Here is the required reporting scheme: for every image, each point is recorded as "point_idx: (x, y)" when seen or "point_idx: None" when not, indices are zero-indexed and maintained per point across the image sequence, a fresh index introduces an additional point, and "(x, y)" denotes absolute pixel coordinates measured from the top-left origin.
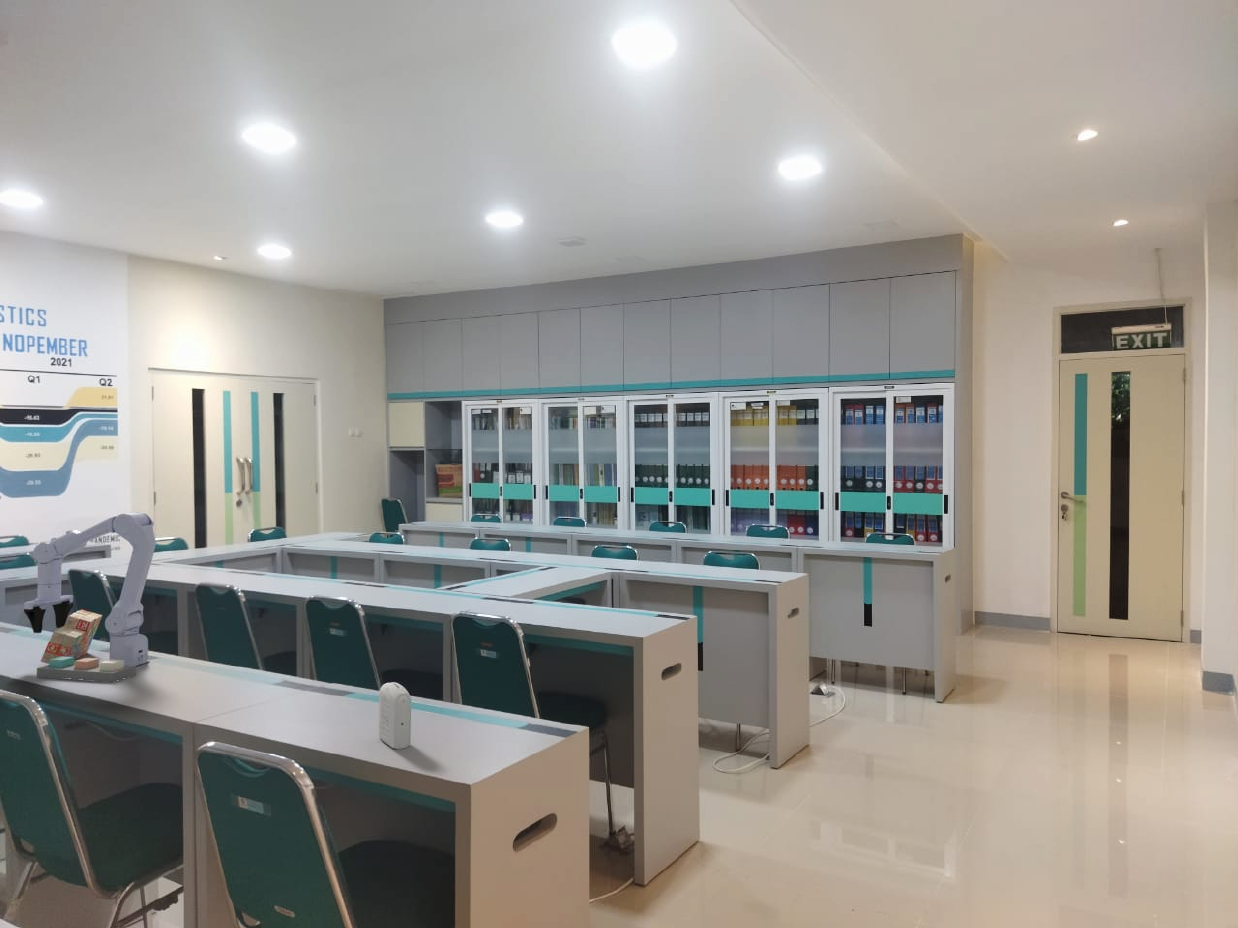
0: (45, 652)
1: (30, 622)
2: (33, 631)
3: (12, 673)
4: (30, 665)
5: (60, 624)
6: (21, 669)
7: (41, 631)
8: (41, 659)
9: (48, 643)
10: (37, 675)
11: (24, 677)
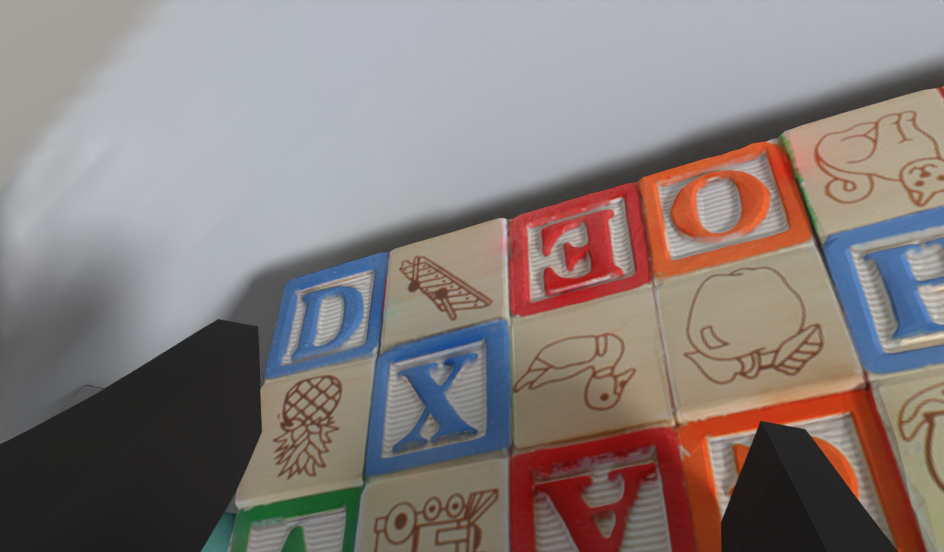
0: (271, 379)
1: (39, 427)
2: (198, 335)
3: (101, 99)
4: (448, 13)
5: (744, 547)
6: (260, 60)
7: (248, 451)
8: (281, 302)
9: (242, 479)
10: (76, 400)
11: (44, 302)
